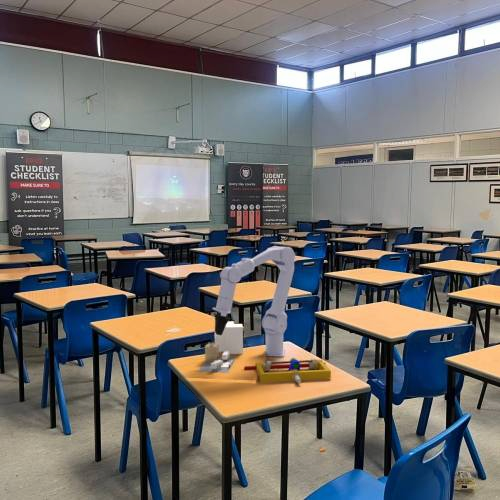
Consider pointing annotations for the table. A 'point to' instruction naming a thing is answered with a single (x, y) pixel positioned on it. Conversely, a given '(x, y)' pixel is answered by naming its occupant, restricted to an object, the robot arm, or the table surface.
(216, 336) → the corner bracket
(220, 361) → the shaft stand
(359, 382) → the table surface
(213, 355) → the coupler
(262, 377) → the mechanical clamp
